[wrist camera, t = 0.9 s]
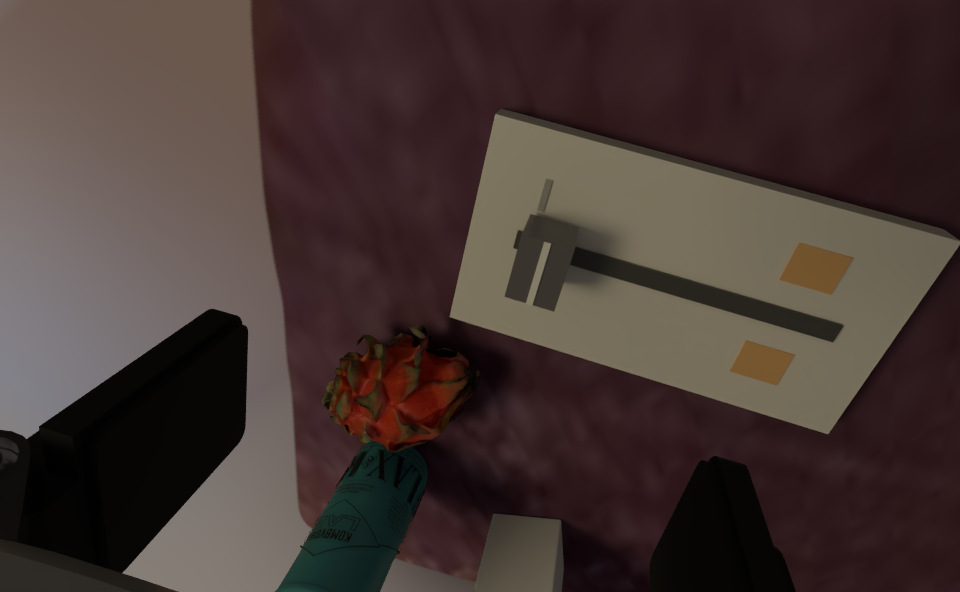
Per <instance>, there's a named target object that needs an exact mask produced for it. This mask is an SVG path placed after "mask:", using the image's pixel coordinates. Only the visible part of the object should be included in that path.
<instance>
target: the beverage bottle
mask: <svg viewBox="0 0 960 592" xmlns="http://www.w3.org/2000/svg"><path fill="white" fill-rule="evenodd" d="M362 447H363V446H362ZM362 447H361V448H362ZM357 453H358V451H357ZM357 453H356V454H357ZM356 456H357V457H356ZM356 456H355V457H354V458H353V460H352V461H353V462H352V464H351V467H350V468H349V467H348V469H346V471H345V473H344V475H345V474H346V475H345V476H344V475H343V476H342V478H343V479H342V478H341V479H342V480H340V481H339V482H341V481H342V482H341V483H340V485H339V487H338V488H337V490H336V492H335V493H334V495H333V497H332V498H331V500H330V502H328V505H327V507H326V508H325V510H324V512H323V513H322V515H321V517H320V518H319V520H318V519H317V520H318V522H316V524H315V527H313V528H314V529H312V532H311V533H310V535H309V536H308V538H307V540H306V542H305V544H304V545H303V546H300V547H301V548H302V549H301V551H300V553H299V555H298V557H297V558H296V560H295V561H294V563H293V565H292V566H291V568H290V570H289V571H288V573H287V575H286V576H285V578H284V580H283V581H282V583H281V585H280V586H279V588H278V589H277V590H276V591H275V592H380V590H381V588H382V586H383V583H384V581H385V578H386V576H387V574H388V571H389V569H390V567H391V564H392V562H393V560H394V558H395V556H396V554H399V553H400V552H399V551H398V549H399V547H400V544H401V542H402V540H403V538H404V537H405V536H404V535H405V534H406V531H407V530H408V529H407V528H408V525H409V524H410V521H411V518H412V517H413V518H412V519H414V515H415V513H416V511H417V508H418V507H419V503H420V501H421V499H422V496H423V495H424V491H423V490H425V485H426V484H427V483H426V482H427V476H428V474H427V473H428V471H427V465H426V463H425V461H424V459H423V457H422V456H421V455H420V454H419V453H418V451H416V450H415V449H414V448H413V447H409V448H406V449H403V450H401V451H399V452H391V451H388V450H387V449H386V447H385V446H384V445H383V444H381V443H379V442H376V441H374V440H372V441H370V442H369V443H368V444H366V445H364V447H363V448H362V449H361V450H360V452H359V453H358V455H356ZM349 466H350V464H349ZM347 471H348V472H347ZM346 472H347V473H346ZM338 484H339V483H338ZM338 484H337V485H338ZM427 485H428V484H427ZM427 485H426V487H427ZM336 487H337V486H336ZM422 492H423V493H422ZM421 495H422V496H421ZM420 497H421V498H420ZM419 499H420V500H419ZM418 502H419V503H418ZM417 504H418V505H417ZM415 509H416V510H415ZM414 511H415V512H414ZM317 520H316V521H317ZM313 525H314V524H313ZM409 527H410V526H409ZM408 531H409V530H408ZM403 543H404V542H403ZM400 550H401V549H400ZM397 552H399V553H397Z"/></svg>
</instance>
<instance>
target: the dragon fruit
mask: <svg viewBox="0 0 960 592" xmlns="http://www.w3.org/2000/svg"><path fill="white" fill-rule="evenodd" d="M409 329H410V330H411V331H412V333H413V334H414V335H415V336H417V337H418V338H419V340H420V345H419V346H417V347H413V342H414V339H413V337H412V336H410V335H406V334H403V333H400V334H399V335H398V336H396V337H394V338H393V339H392V340H391V342H390V344H389V345H388V346H385V345H383V344H379V342H378V341H377V339H375V338H374V337H372V336H370V335H362V336H360V337H359V338H358V339H357V345H358V344H359V343H360V342H361V340H362V339H363V338H365V339H366V343H367V344H368V352H367V353H366V354H365V356H362V355H361V354H359V353H356V352H348V353H347V354H346V355H345V356H344V357H343V358H340V366H341V367H340V368H336V372H335V373H336V374H337V375H336V377H335V379H334V380H333V381H330V382H329V383H328V386H327V391H326V394H325V397H324V398H323V400H322V403H325V402H326V403H325V405H324V406H325V407H326V409H327V410H328V412H330V413H332V414H334V413H335V415H334V416H330V418H331V419H332V420H333V421H334V422H335V423H337V424H339V425H343V427H344V429H345V431H346V432H347V433H348V434H349V435H350V436H355V435H356V434H358V435H359V441H361V442H364V443H368V442H370V441H371V440H374V441H376V442H379V443H381V444H383V445H384V446H385V447H386V449H387V450H388V451H391V452H399V451H401V450H403V449H406V448H409V447H412V446H416V445H421V444H424V443H426V442H427V441H429V440H431V439H434V438H435V437H436V436H438V435H440V434H441V433H443V431H444V430H445V429H446V426H447V424H448V423H450V422H451V421H453V420H454V419H455V418H456V417H457V416H458V415H459V414H460V413H461V412H462V410H463V409H464V408H462V409H460V407H461V406H462V405H463V403H464V402H465V400H467V399H468V398H469V397H471V396H472V395H473V394H474V393H475V391H476V388H477V382H478V380H479V378H480V371H479V370H477V371H476V374H475V377H474V379H473V376H472V375H471V371H470V370H469V371H468V370H466V369H468V368H469V364H470V363H469V361H468V360H467V359H466V358H465V357H464V356H463V355H461V354H460V353H459V352H458V351H457V350H450V349H447V348H443V349H437V350H439V351H442V353H441V354H444V355H447V356H454V357H453V358H446V357H438V356H436V355H434V354H431V353H428V352H426V349H427V348H428V346H429V344H430V341H431V337H430V336H428V333H427V331H426V328H425V327H424V326H409ZM443 351H447V352H444V353H443ZM469 369H470V368H469ZM472 379H473V381H472V383H471V382H469V381H471V380H472ZM452 415H454V416H452Z"/></svg>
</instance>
